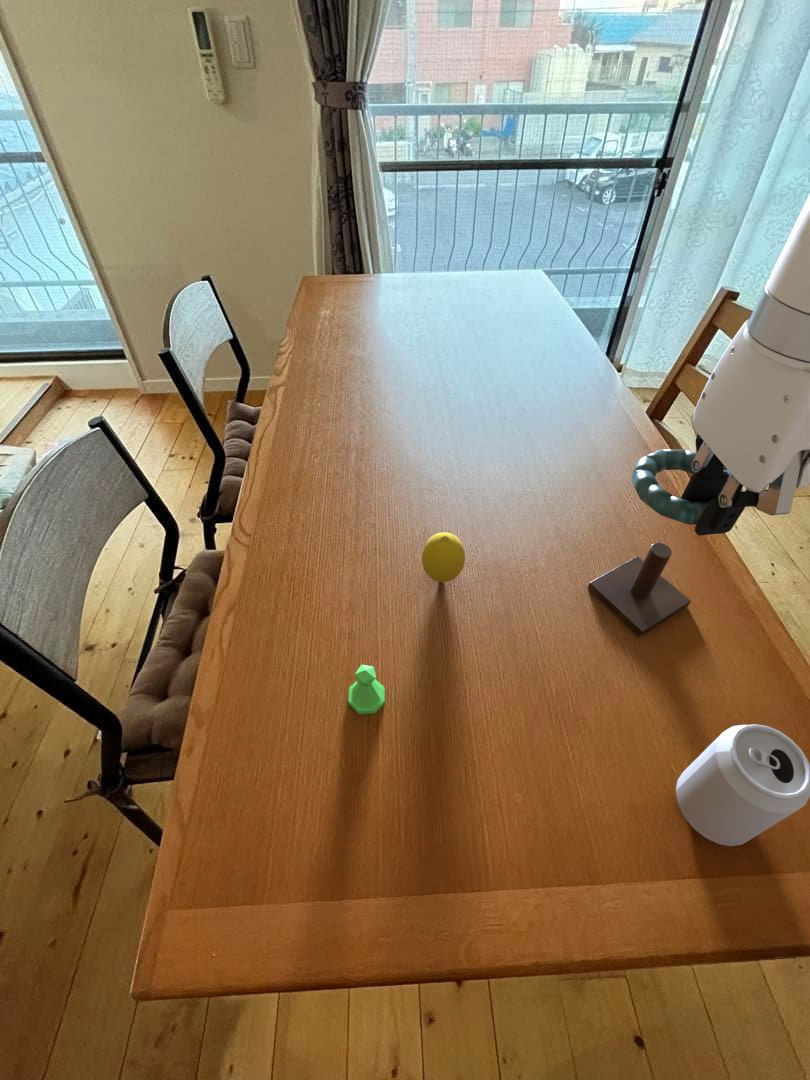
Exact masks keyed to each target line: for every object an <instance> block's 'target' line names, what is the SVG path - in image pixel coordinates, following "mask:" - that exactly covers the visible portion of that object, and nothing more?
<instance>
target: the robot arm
mask: <svg viewBox="0 0 810 1080" xmlns="http://www.w3.org/2000/svg"><path fill="white" fill-rule="evenodd" d="M690 423H691V426H692V429H693V432H694V435H695V453H696V456H695V458H694V460H693V462H692V470H693V472H695V474H692V475H691V477H690V479H689V481H688V483H687V485H686V486H685V489H684V491H683V493H682V494H681V497H680V498H681V499H685V500H688V501H691V502H709V503H708V505H707V507H706V509H705V510H704V512H703V514H702V516H701V517H700V519H699V521H698V523H697V524H695V526H694V532H695V533H696V535H697V536H699V537H700V536H708V535H709V536H710V535H721V534H726V533H729V532H730V531H732V529H733V527H734V526H735V524H736V523H737V521H738V520H739V518H740V516H741V515H742V513H743V512H744V510H745V508H748V507H750V508H751V507H752V508H755V509H756V510H757V511H760V512H762V513H764V514H767V515H769V516H780V515H781V516H782V515H788V514H790V513H791V511H792V506H793V502H794V498H795V494H796V490H797V489H804V488H807V487H808V486H809V485H810V193H809V194H808V197H807V199H806V201H805V203H804V205H803V207H802V209H801V211H800V213H799V215H798V217H797V219H796V221H795V224H794V226H793V228H792V230H791V231H790V234H789V236H788V237H787V240H786V242H785V244H784V247H783V249H782V251H781V253H780V255H779V257H778V259H777V261H776V263H775V265H774V267H773V269H772V271H771V274H770V276H769V278H768V279H767V282H766V283H765V286H764V288H763V290H762V292H761V295H759V298H758V300H757V302H756V304H755V307H754V309H753V311H752V313H751V315H750V317H749V318H748V319H747V320H745V321H744V322H743V324H742V325H741V327H740V328H739V330H738V331H737V332H736V334H735V335H734V337H733V338H732V339H731V341H730V342H729V343H728V346H727V347H726V349H725V350H724V352H723V353H722V355H721V357H720V359H719V360H718V362H717V364H716V365H715V367H714V368H713V370H712V373H711V374H710V376H709V378H708V380H707V382H706V384H705V386H704V387H703V390H702V392H701V393H700V397H699V399H698V401H697V403H696V406H695V408H694V411H693V413H692V415H691V417H690ZM726 469H728V470H729V471H730V472H731V475H730V477H729V474H728V473H727V471H724V470H726ZM723 471H724V472H723ZM728 477H729V478H728ZM727 478H728V479H727ZM725 483H726V484H725ZM724 485H725V486H724ZM723 487H724V488H723ZM743 488H745V490H743V491H742V492H740V491H741V490H742V489H743ZM722 489H723V490H722ZM721 490H722V492H721ZM720 492H721V494H720ZM719 494H720V496H719ZM718 496H719V498H717V497H718Z"/></svg>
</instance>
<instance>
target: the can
mask: <svg viewBox="0 0 810 1080" xmlns="http://www.w3.org/2000/svg"><path fill="white" fill-rule="evenodd" d="M809 761H810V760H809V759H808V758H807V756H806V754H805V753H804V751H803V750H802V749H801V748H800V746H798V745H797V744H796V743H795V742H794V741H793V739H792V738H790V737H789V736H787V735H786V734H784V733H783V732H781V731H780V730H777V729H775V728H773V727H770V726H768V725H763V724H762V725H761V724H756V723H754V724H740V725H739V724H738V725H732V726H731V727H729V728H727V729H726V730H724V731H722V732H721V733H720V735H719V736H717V738H715V740H713V741H712V742H711V743H710V744H709V745H708V746H707V747H706V748H705V749H704V750H703V751H702V752H701V753H700V754H699V756H697V757H696V758H695V759H694V760H693V761H692V762H690V765H688V766H687V767H686V768H685V769H684V770H683V771H682V773H681V774H680V776H679V778H678V779H677V780H676V781H677V782H676V787H675V794H676V795H675V796H676V801H677V805H678V807H679V810H680V812H681V813H682V816H683V817H684V819H685V821H687V822H688V824H689V825H690V826H691V827H692V829H694V830H695V831H696V832H697V833H699V834H700V835H701V836H702V837H704V838H705V839H706V840H708V841H711V842H713V843H715V844H717V845H722V846H728V847H734V846H741V845H744V844H745V843H747V842H749V841H750V840H753V838H755V837H757V836H759V835H760V834H762V833H763V832H765V831H767V830H768V829H770V828H772V827H773V826H775V825H776V824H778V823H780V822H781V821H783V820H784V819H786V818H788V817H789V816H791V815H793V814H795V813H796V812H798V811H799V810H800V809H802V808H803V807H805V806H806V805H807V802H808V801H809V799H810V762H809Z"/></svg>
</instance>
